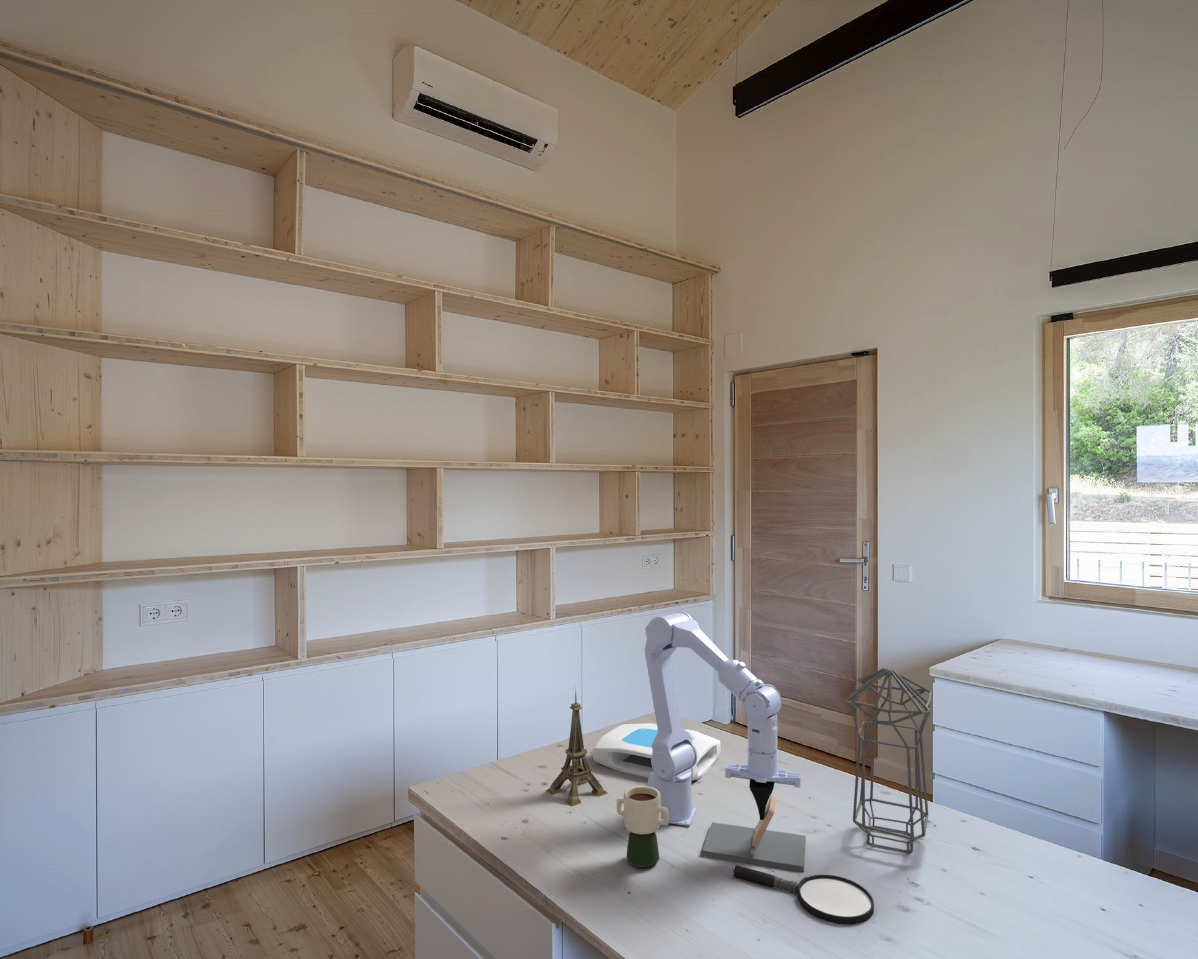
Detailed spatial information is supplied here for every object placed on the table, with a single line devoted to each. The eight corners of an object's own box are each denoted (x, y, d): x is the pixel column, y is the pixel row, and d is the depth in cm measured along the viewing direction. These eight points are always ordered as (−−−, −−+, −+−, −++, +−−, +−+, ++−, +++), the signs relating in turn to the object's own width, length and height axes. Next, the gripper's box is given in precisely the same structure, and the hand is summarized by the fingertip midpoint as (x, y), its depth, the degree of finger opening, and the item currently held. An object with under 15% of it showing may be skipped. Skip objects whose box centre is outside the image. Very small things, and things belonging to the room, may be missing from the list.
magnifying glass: (744, 860, 131) (744, 849, 131) (878, 896, 120) (878, 884, 120) (724, 894, 120) (724, 882, 120) (868, 937, 109) (868, 924, 109)
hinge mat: (702, 855, 132) (702, 845, 133) (712, 826, 144) (711, 817, 144) (803, 871, 126) (803, 861, 126) (805, 840, 138) (805, 831, 138)
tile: (769, 810, 131) (774, 813, 131) (771, 794, 138) (776, 797, 137) (751, 845, 132) (756, 848, 132) (755, 828, 139) (760, 831, 138)
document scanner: (692, 787, 164) (691, 761, 164) (592, 766, 178) (591, 742, 178) (721, 758, 182) (721, 734, 182) (628, 740, 196) (628, 718, 196)
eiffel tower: (571, 806, 154) (570, 696, 155) (545, 791, 162) (544, 686, 163) (607, 793, 161) (606, 687, 161) (580, 779, 169) (579, 678, 170)
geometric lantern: (934, 831, 141) (933, 663, 141) (931, 871, 127) (929, 684, 127) (854, 814, 148) (852, 655, 148) (842, 849, 134) (841, 673, 134)
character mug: (676, 859, 131) (675, 791, 132) (662, 877, 125) (661, 806, 125) (625, 846, 136) (624, 781, 137) (609, 863, 130) (608, 795, 130)
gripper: (722, 751, 134) (722, 820, 133) (799, 760, 129) (799, 833, 129) (727, 739, 140) (727, 805, 140) (801, 747, 136) (801, 816, 135)
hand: (762, 817), depth 135 cm, fingers closed, pressing on tile
